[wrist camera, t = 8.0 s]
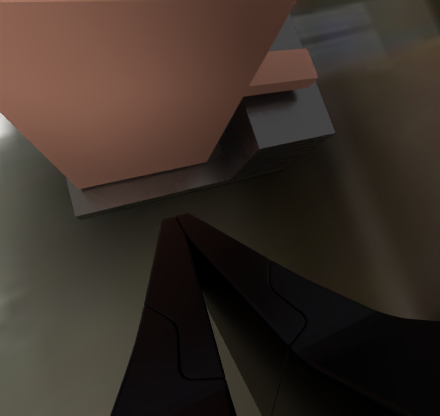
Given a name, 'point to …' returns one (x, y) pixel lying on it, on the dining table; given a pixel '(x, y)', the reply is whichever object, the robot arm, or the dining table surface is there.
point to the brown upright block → (138, 78)
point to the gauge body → (229, 147)
